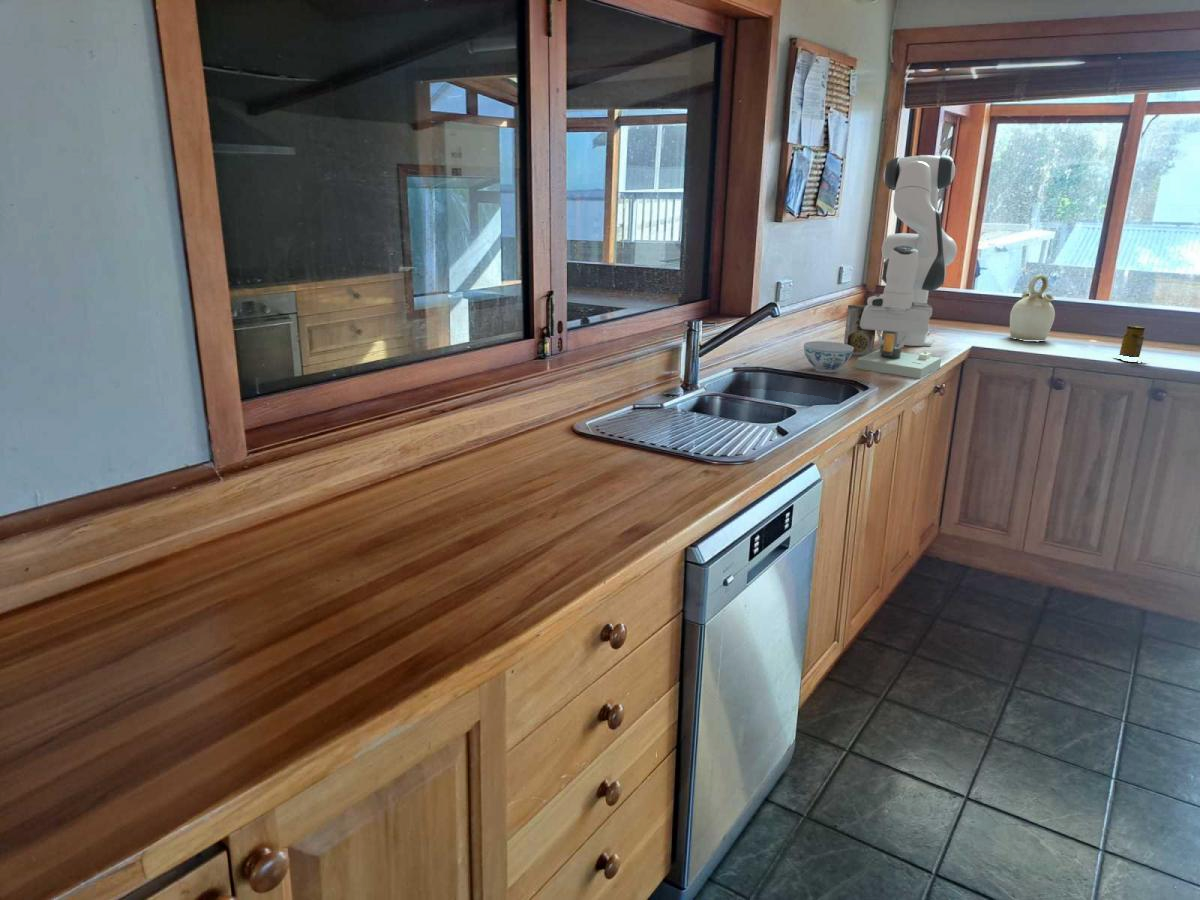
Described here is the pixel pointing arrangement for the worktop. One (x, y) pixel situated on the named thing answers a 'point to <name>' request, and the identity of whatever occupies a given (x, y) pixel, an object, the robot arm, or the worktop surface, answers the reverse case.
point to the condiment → (1132, 341)
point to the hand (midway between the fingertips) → (890, 345)
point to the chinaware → (827, 355)
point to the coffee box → (858, 332)
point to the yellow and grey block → (890, 347)
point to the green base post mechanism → (899, 362)
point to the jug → (1033, 313)
